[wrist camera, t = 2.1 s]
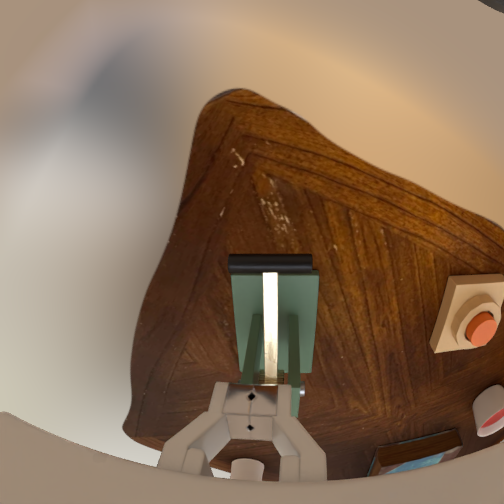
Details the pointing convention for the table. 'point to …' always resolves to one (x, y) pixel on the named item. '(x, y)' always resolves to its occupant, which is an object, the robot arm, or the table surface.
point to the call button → (465, 308)
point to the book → (416, 453)
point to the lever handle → (270, 299)
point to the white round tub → (489, 410)
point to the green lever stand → (289, 327)
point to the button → (481, 329)
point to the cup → (247, 470)
